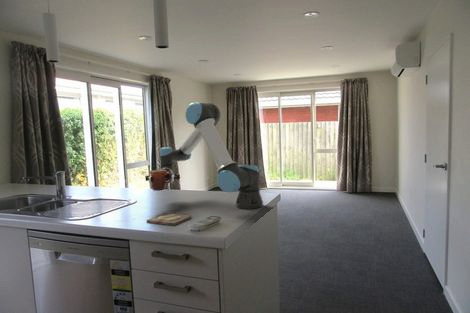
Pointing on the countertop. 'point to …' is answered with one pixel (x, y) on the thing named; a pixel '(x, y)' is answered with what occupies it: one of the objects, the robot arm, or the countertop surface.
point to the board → (169, 219)
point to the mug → (159, 179)
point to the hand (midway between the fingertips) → (161, 179)
